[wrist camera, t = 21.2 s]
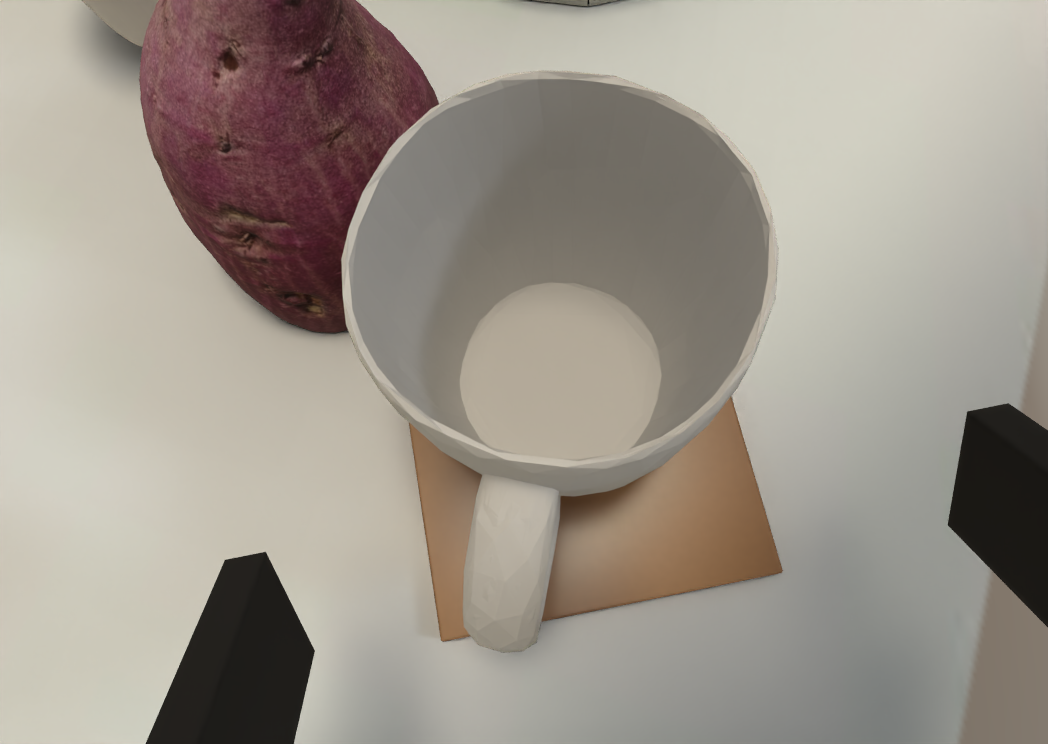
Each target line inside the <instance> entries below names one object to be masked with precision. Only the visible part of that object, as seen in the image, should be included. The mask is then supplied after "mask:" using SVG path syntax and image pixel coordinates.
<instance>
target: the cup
mask: <svg viewBox="0 0 1048 744" xmlns="http://www.w3.org/2000/svg"><path fill="white" fill-rule="evenodd" d="M82 1H83V2H84V3H85V4H86V5H87V6H88V7H89V8H90V9H91V10H92V11H93V12H94V13H95V14H96V15H97V16H98V17H100V18H101V19H102V20H103V21H104V22H105V23H106V24H107V25H108V26H110V27H111V28H112V29H113V30H114V31H116V32H117V33H118V34H120V35H121V36H122V37H124V38H125V39H127V40H129V41H130V42H132V43H134V44H136V45H138V46H141V47H143V42H144V38H145V34H146V30H147V27H148V25H149V22H150V19H151V17H152V14H153V12H154V10H155V6H156V4H157V2H158V1H159V0H82Z"/></svg>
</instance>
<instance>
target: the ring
mask: <svg viewBox="0 0 1048 744" xmlns="http://www.w3.org/2000/svg"><path fill="white" fill-rule="evenodd" d="M534 1H543V2H552V3H561V4H569V5H578V6H588V5H589V6H594V5H598V4H603V3H608V2H613V1H618V0H534Z"/></svg>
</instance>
